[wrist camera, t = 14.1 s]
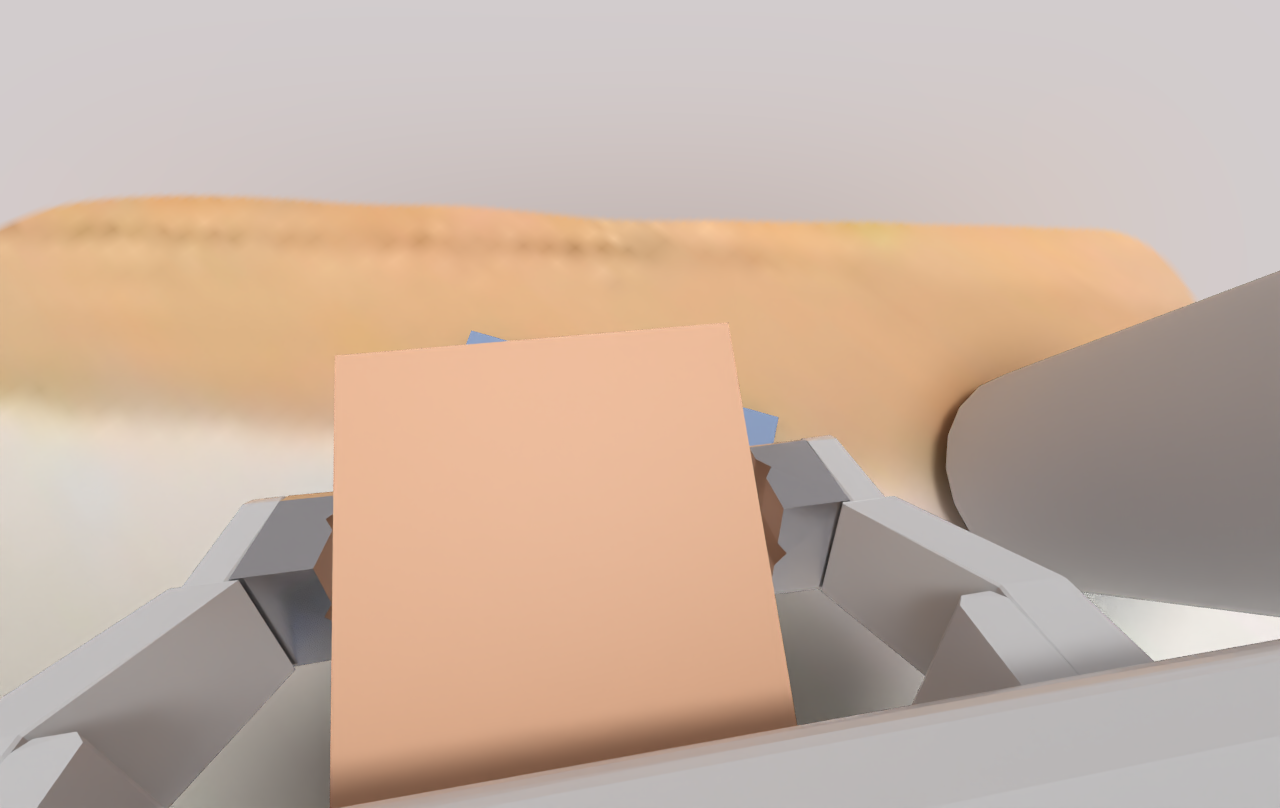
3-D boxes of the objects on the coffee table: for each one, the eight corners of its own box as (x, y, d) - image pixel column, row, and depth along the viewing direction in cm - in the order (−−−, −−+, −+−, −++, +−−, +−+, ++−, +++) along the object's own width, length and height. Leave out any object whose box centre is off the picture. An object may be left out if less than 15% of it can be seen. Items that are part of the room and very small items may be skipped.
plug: (524, 607, 16) (330, 820, 4) (515, 476, 17) (335, 356, 5) (654, 589, 16) (799, 737, 5) (638, 462, 17) (728, 321, 6)
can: (887, 445, 19) (1381, 305, 7) (1030, 343, 20) (1632, 87, 8) (1024, 632, 17) (1888, 837, 6) (1165, 509, 19) (2074, 476, 7)
